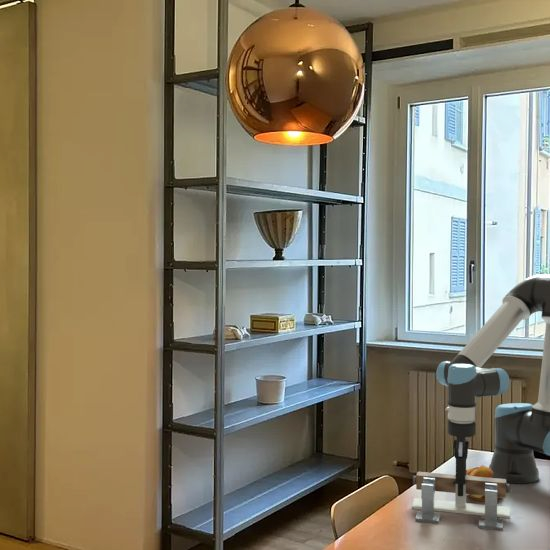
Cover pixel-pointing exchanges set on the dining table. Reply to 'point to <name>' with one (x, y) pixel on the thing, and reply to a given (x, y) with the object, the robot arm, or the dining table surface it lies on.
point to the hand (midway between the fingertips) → (460, 503)
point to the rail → (472, 483)
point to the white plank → (462, 508)
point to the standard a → (428, 502)
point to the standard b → (490, 509)
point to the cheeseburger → (480, 472)
